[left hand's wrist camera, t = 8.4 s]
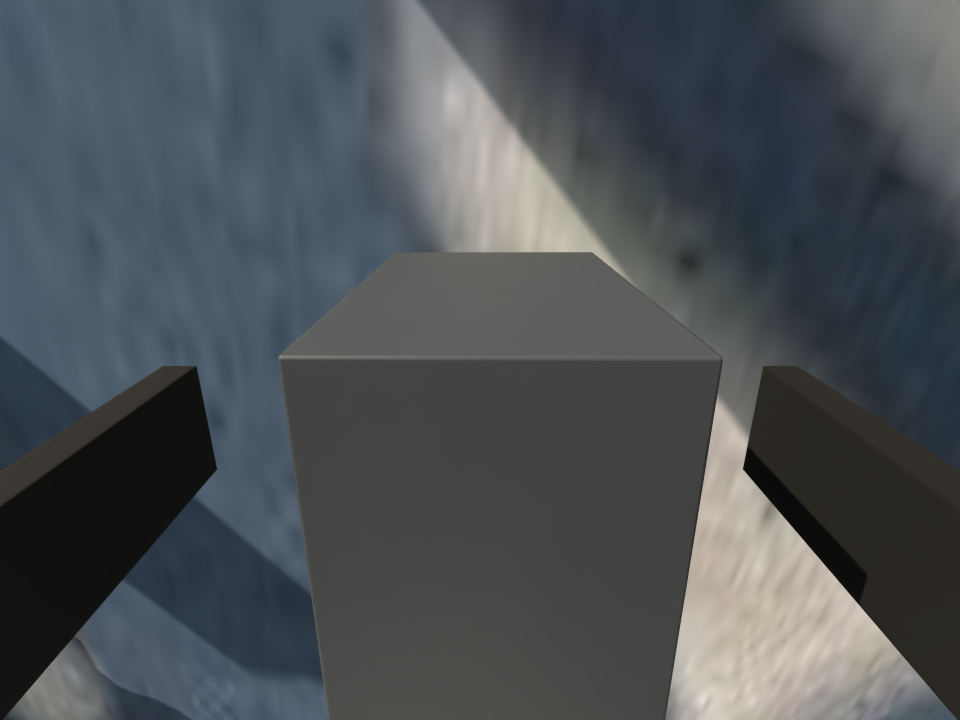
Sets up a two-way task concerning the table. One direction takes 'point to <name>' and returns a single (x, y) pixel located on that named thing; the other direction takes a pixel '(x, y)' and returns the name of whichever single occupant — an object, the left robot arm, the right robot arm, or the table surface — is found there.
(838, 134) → the table surface
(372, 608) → the bar
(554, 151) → the table surface
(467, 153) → the table surface
